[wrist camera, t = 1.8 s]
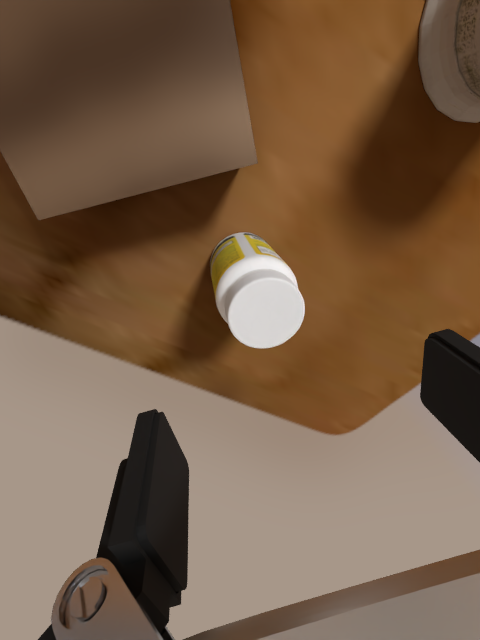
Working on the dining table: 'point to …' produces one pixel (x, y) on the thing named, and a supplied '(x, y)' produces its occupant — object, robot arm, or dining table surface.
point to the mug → (451, 57)
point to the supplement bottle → (255, 291)
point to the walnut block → (118, 98)
